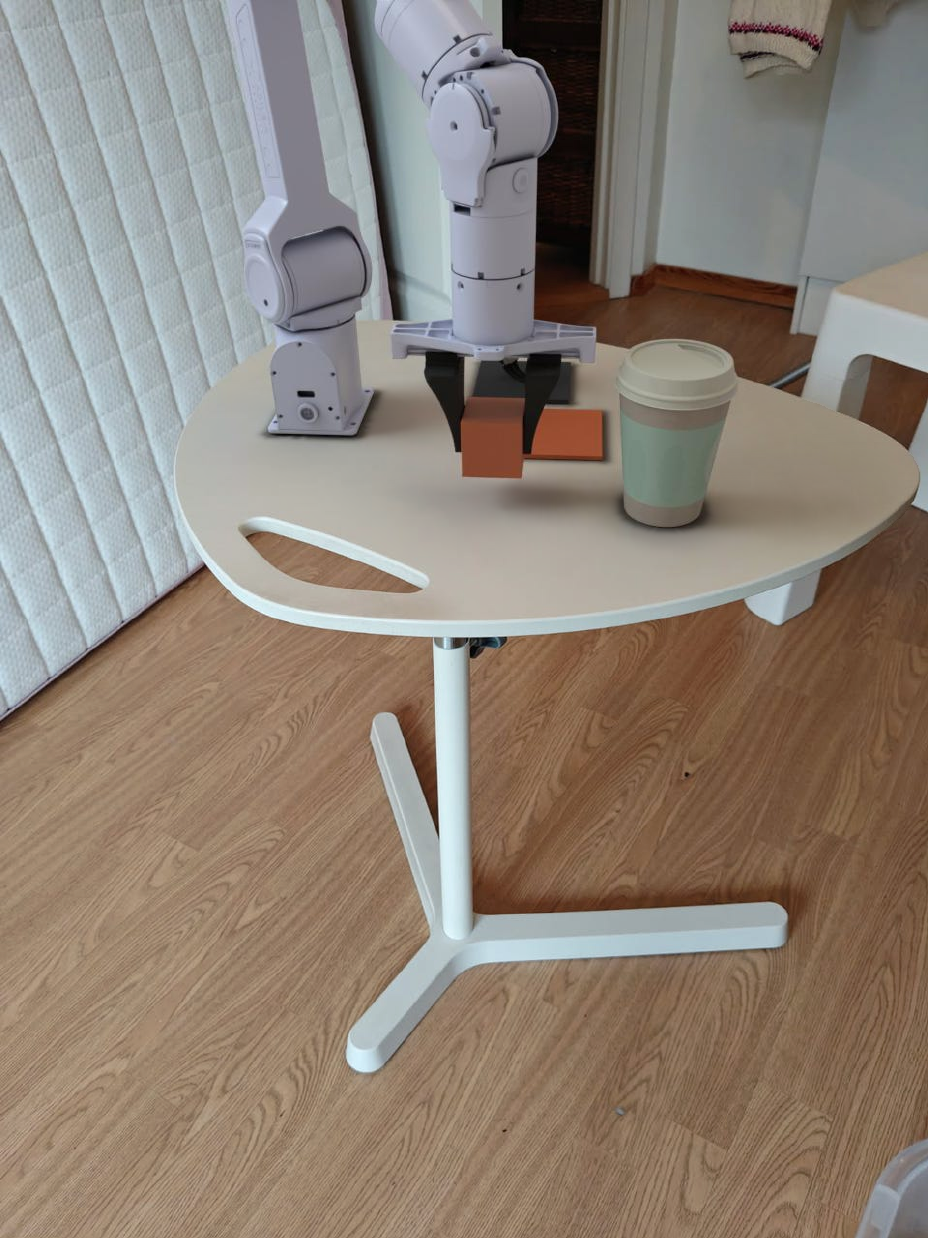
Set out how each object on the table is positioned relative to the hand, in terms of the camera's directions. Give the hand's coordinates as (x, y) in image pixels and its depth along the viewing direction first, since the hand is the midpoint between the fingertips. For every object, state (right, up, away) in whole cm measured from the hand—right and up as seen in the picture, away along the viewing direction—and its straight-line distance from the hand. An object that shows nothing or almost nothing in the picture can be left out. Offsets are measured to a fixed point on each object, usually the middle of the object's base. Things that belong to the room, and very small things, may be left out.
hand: (493, 447), depth 75 cm
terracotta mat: (+5, +3, +11) cm, 12 cm away
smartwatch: (+3, +10, +20) cm, 22 cm away
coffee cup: (+13, -5, +1) cm, 14 cm away
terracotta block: (0, -1, +1) cm, 1 cm away
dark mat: (+3, +10, +20) cm, 22 cm away
